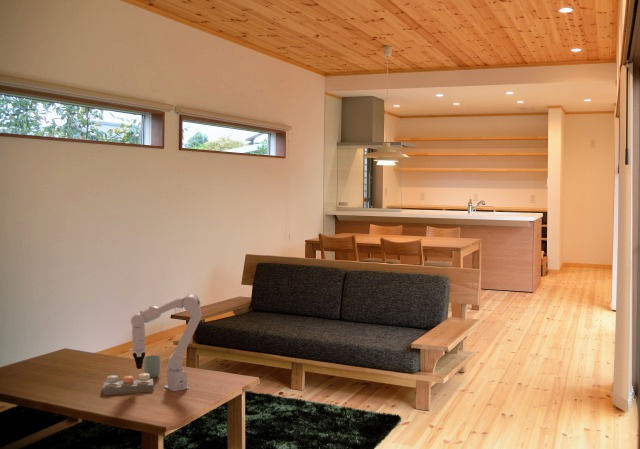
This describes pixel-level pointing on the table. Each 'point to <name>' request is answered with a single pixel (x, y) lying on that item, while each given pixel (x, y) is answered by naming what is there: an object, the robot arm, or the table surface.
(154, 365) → the cup
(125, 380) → the terracotta button
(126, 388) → the console
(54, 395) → the table surface
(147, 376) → the cream button
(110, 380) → the light grey button
